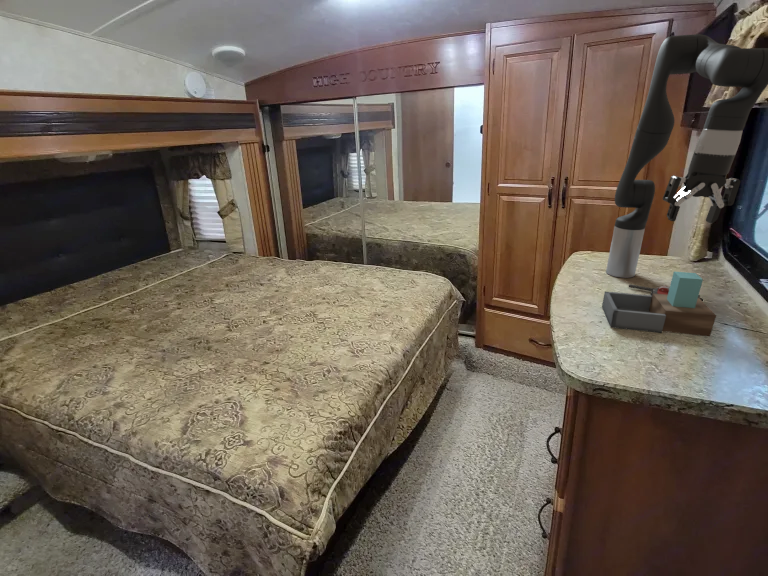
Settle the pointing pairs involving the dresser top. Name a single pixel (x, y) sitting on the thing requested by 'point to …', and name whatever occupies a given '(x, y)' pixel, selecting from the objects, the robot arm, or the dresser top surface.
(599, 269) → the dresser top surface
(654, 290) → the walkie-talkie
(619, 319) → the box
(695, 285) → the block
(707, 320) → the brown box
